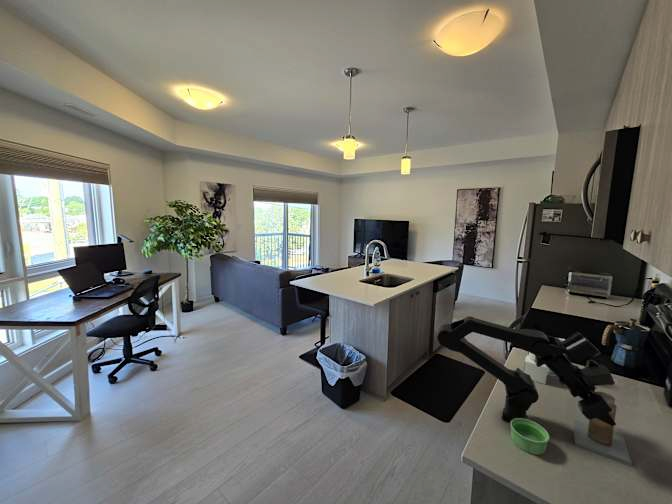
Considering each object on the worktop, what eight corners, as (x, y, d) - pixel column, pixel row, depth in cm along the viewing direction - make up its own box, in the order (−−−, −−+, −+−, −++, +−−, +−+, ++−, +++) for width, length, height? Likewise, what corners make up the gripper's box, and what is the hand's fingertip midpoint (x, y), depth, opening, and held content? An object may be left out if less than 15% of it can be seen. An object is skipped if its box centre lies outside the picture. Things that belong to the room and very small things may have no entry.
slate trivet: (631, 466, 72) (631, 462, 72) (575, 444, 78) (575, 441, 78) (622, 439, 80) (623, 436, 80) (572, 421, 87) (573, 418, 87)
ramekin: (540, 463, 72) (542, 447, 72) (503, 440, 80) (504, 426, 79) (552, 446, 78) (554, 432, 77) (516, 426, 85) (518, 413, 84)
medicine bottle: (525, 370, 116) (528, 342, 114) (546, 376, 111) (549, 348, 110) (523, 377, 110) (526, 349, 109) (545, 384, 106) (548, 355, 104)
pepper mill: (607, 448, 76) (613, 404, 74) (584, 435, 80) (589, 393, 78) (614, 441, 78) (620, 398, 77) (591, 429, 83) (596, 388, 81)
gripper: (606, 373, 69) (661, 428, 66) (581, 342, 86) (624, 386, 83) (562, 393, 74) (612, 446, 71) (547, 360, 91) (586, 402, 87)
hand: (609, 417), depth 78 cm, fingers open, 6 cm apart
